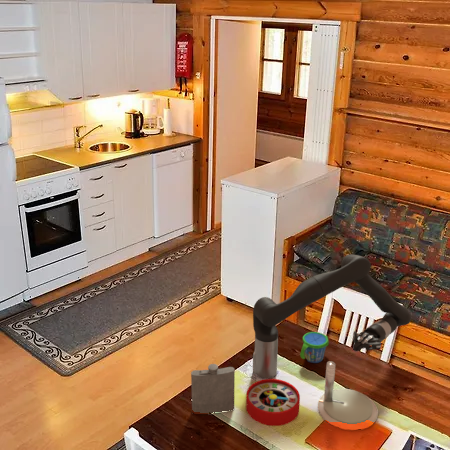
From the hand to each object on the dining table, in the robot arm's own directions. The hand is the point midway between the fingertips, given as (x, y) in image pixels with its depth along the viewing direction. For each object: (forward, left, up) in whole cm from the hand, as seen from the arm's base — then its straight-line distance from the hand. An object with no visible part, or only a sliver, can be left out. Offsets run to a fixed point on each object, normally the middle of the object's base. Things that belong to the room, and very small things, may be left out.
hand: (354, 348), depth 221 cm
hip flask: (-44, -35, -17) cm, 59 cm away
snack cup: (-18, +12, -17) cm, 28 cm away
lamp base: (+2, -15, -17) cm, 23 cm away
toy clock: (-25, -25, -18) cm, 39 cm away
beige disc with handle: (+2, -15, -16) cm, 22 cm away
